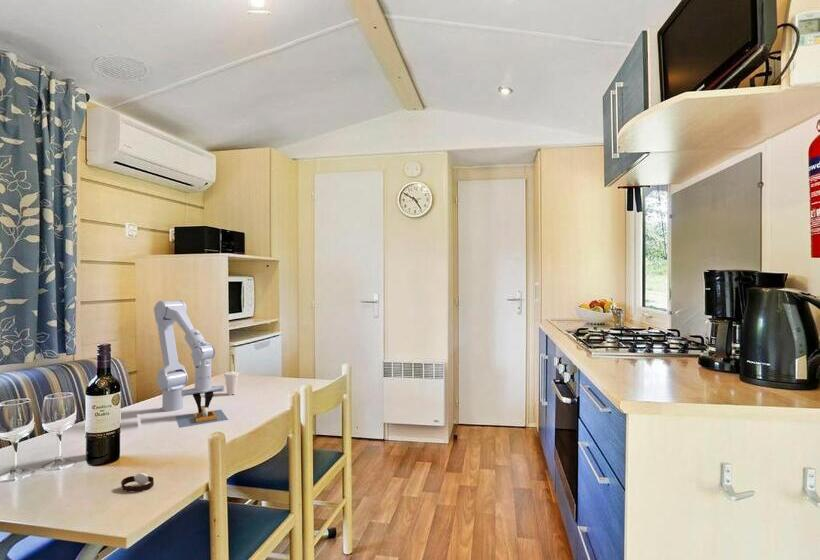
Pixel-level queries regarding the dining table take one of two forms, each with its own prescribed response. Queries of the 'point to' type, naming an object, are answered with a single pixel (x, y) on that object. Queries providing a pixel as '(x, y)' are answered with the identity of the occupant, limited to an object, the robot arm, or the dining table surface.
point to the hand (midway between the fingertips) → (202, 412)
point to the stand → (190, 421)
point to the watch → (140, 479)
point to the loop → (200, 418)
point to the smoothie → (231, 381)
